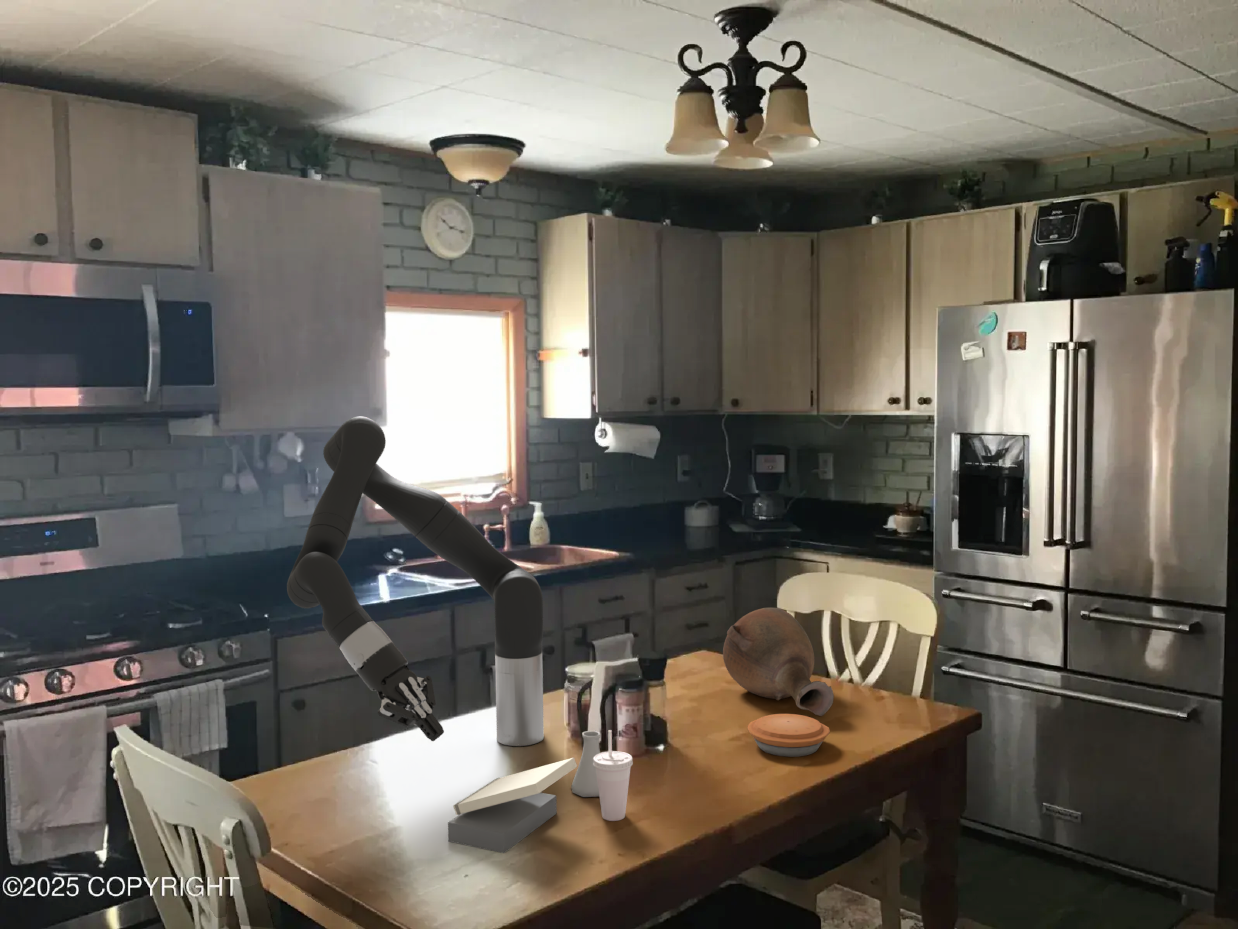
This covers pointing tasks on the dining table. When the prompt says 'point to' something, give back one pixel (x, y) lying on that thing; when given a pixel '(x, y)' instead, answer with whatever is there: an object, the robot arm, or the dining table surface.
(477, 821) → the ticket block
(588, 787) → the flask
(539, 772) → the panel
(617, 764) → the smoothie
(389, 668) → the robot arm
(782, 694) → the jug
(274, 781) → the dining table surface
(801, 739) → the pie
